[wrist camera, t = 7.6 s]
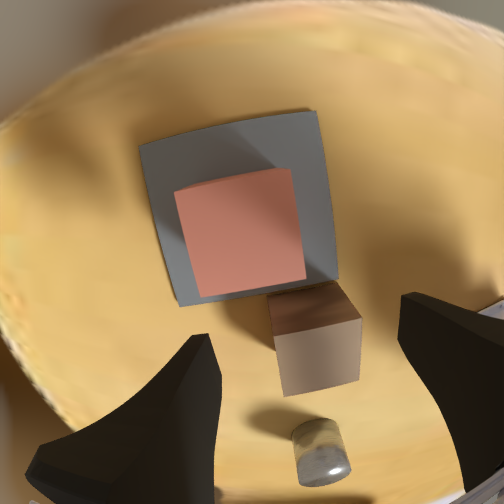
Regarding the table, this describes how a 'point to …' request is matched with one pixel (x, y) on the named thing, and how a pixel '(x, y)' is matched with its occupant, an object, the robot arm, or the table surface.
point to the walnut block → (315, 338)
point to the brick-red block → (242, 231)
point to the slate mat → (234, 163)
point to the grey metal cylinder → (319, 453)
